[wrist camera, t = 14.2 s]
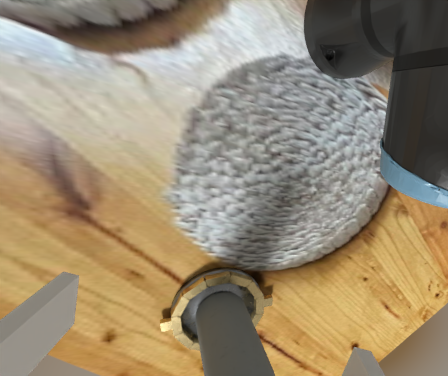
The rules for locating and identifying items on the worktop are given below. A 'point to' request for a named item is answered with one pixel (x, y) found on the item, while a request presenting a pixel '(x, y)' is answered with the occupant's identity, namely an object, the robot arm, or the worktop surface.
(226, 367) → the water bottle
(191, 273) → the worktop surface
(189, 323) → the collar
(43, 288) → the robot arm
